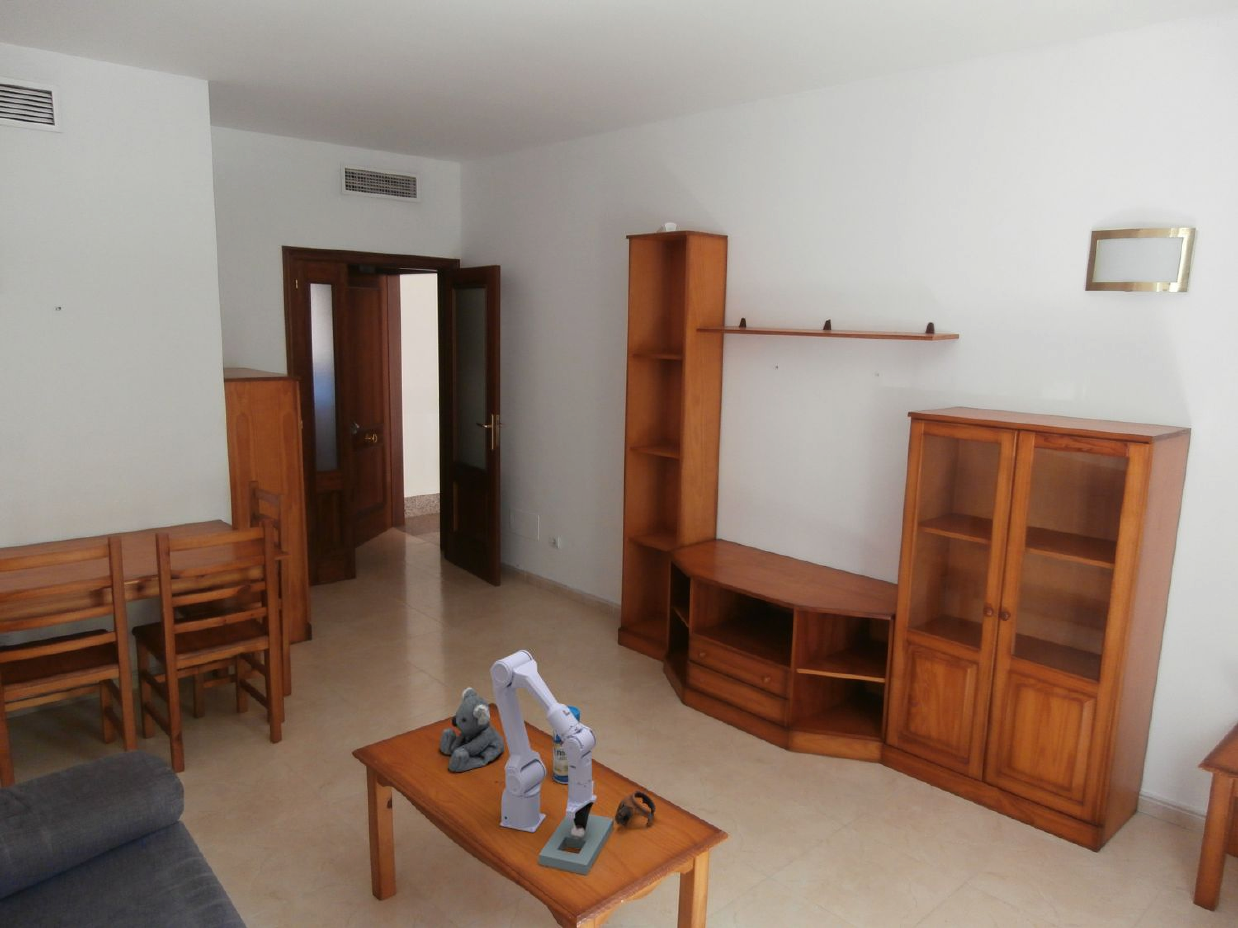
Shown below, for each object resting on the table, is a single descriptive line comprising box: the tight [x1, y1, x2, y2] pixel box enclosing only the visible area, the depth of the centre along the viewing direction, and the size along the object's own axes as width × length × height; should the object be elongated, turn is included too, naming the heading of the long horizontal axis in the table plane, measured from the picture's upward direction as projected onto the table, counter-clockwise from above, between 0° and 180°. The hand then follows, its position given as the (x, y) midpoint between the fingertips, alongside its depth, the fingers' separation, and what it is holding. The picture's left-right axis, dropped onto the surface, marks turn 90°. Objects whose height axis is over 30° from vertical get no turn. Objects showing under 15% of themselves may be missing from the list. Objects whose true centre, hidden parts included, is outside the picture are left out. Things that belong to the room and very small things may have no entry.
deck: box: [538, 813, 615, 876], centre depth 209 cm, size 12×20×2 cm, turn 162°
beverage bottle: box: [551, 705, 581, 785], centre depth 239 cm, size 8×8×20 cm
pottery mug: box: [614, 790, 656, 828], centre depth 219 cm, size 12×10×8 cm
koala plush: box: [439, 686, 505, 773], centre depth 250 cm, size 17×18×20 cm
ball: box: [570, 825, 585, 840], centre depth 208 cm, size 4×4×4 cm
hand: (580, 830), depth 209 cm, fingers closed, pressing on ball
